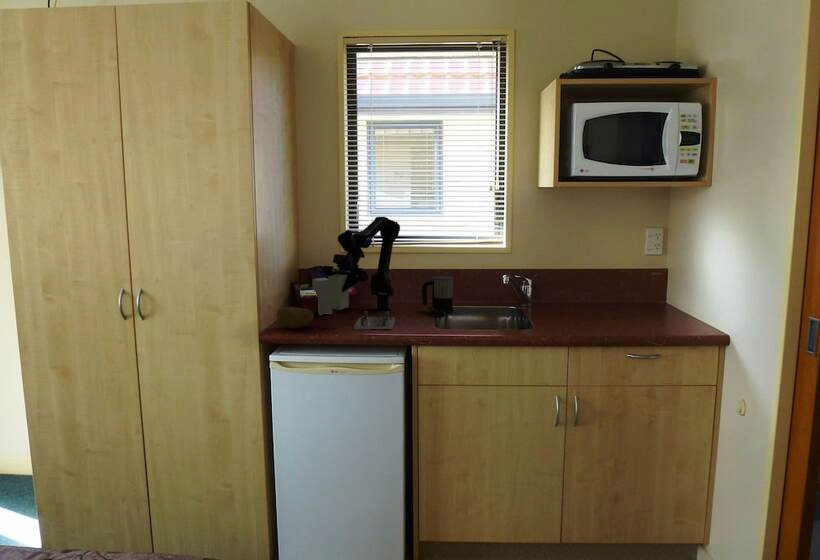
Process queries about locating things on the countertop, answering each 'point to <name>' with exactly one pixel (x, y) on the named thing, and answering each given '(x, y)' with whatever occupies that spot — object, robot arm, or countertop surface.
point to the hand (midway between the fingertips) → (336, 291)
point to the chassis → (374, 322)
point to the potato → (294, 317)
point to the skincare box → (322, 295)
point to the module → (337, 292)
